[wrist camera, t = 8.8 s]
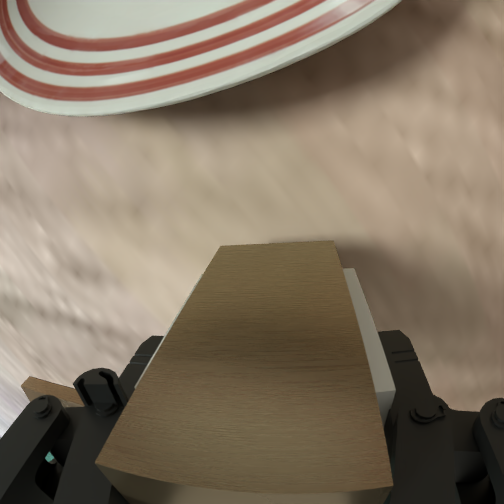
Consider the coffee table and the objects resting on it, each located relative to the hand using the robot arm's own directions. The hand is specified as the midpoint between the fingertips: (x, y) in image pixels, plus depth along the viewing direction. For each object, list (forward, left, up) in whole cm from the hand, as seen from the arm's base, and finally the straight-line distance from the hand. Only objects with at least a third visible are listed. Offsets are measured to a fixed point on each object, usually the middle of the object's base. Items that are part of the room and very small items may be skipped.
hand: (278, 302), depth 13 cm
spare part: (0, 0, -1) cm, 1 cm away
